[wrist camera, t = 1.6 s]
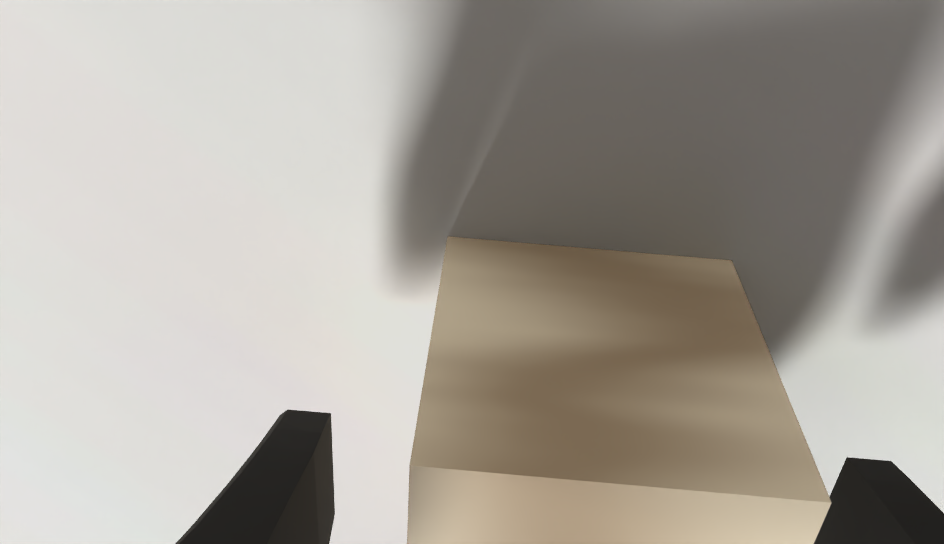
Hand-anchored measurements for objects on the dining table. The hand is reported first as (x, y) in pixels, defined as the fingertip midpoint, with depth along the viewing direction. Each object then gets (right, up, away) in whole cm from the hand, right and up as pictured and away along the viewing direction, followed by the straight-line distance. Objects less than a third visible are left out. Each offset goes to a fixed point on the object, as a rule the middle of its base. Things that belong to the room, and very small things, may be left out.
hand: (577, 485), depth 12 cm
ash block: (0, +2, +3) cm, 3 cm away
